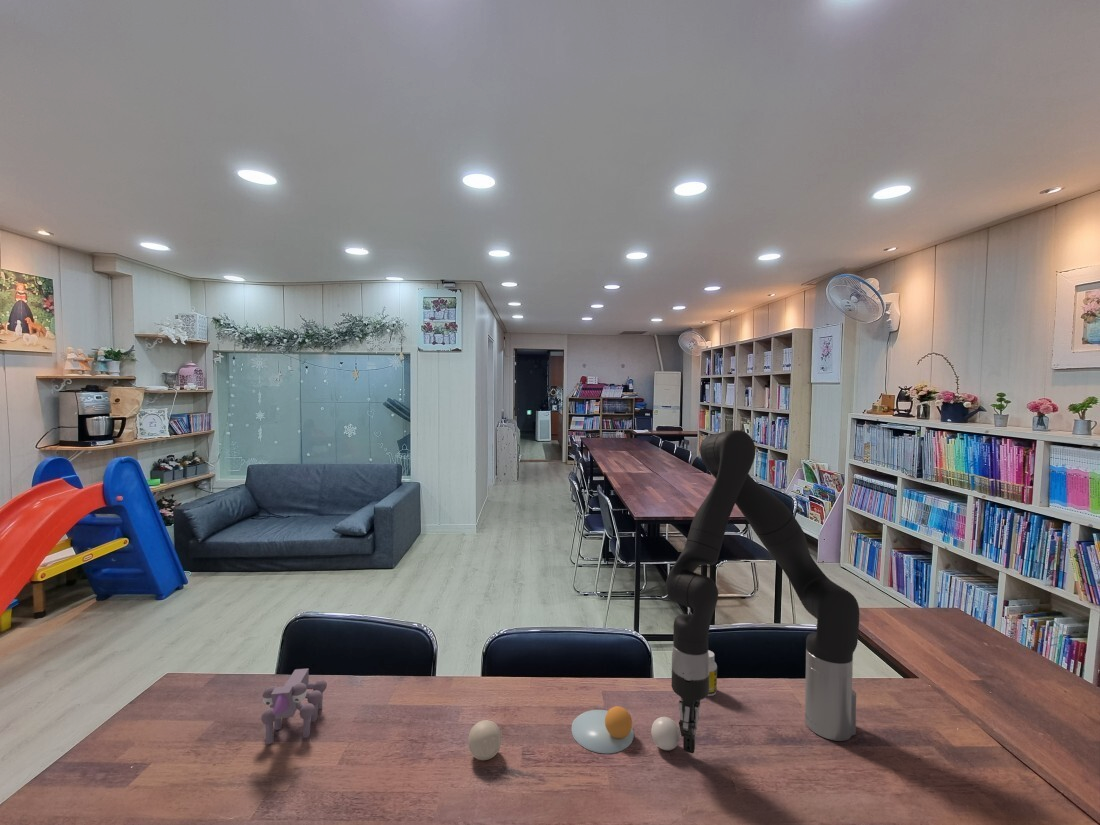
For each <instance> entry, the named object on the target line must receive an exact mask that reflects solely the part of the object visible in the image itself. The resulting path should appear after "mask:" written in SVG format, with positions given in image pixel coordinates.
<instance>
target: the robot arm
mask: <svg viewBox="0 0 1100 825" xmlns="http://www.w3.org/2000/svg"><path fill="white" fill-rule="evenodd" d="M699 446H700V447H699V455H700V458H701V460H702V463H703V464H704V466H705V468H706V469H707V470H708V471H709V473H710V474H711V475H712V476H713V477H714V478H715V481H714V483H713V485H712V487H711V489H710V490H709V493H708V494H707V496H706V497H705V498H704V500H703V501H702V503H701V504H700V506H699V508H698V509H697V511H696V512H695V515H694V517H693V518H692V521H691V524H690V528H689V530H688V533H687V534H688V535H687V538H686V542H685V545H684V548H683V549H682V551H681V552H680V554H679V556H678V558H677V560H676V562H675V563H674V565H672V568H671V569H670V571H669V573H668V575H667V577H666V581H665V592H666V595H667V597H668V598H669V599H670V601H672V602H673V603H677V604H678V605H681V606H684V607H687V608H689V609H692V611H693V614H692V613H691V614H689V613H684V614H683V613H681V614H679V615H677V616H676V617H675V618H674V621H673V632H672V633H673V639H672V640H673V643H672V651H671V688H672V691H673V692H674V693H675V694H676V695H678V696H679V697H680V700H679V701H678V710H679V721H678V728H679V732H680V737H682V738H683V740H682V741H683V744H682V748H683V751H684V752H686V753H689V754H695V749H696V735H697V730H698V723H699V718H700V708H701V704H702V703H701V702H702V701H701V700H704V699H706V698H707V697H709V696H708V694H709V653H708V650H709V631H710V627H711V623H712V618H713V615H714V612H715V609H716V606H717V603H718V599H719V590H718V587H717V584H716V582H715V581H714V580H713V578H711V577H709V576H707V575H703V574H699V573H696V572H695V571H696V570H697V568H699V567H701V566H713V565H716V564H717V562H718V560H719V557H720V552H721V549H722V545H723V541H724V539H725V538H724V537H725V534H726V531H727V530H726V529H727V527H728V523H729V520H730V518H731V515H732V512H733V509H734V507H735V505H736V506H737V508H738V509H739V511H740V512H741V514H742V515H743V517H744V518H745V519H746V521H747V522H748V524H749V526H750V527H751V528H752V531H753V532H754V533H755V535H756V536H757V537H758V539H759V540H760V542H761V544H762V545H763V546H764V548H765V549H766V551H767V552H768V553H769V554H770V555H771V557H772V558H773V560H774V561H775V562H776V563H777V564H778V565H779V566H778V567H780V568H781V570H783V571H782V572H784V573H785V575H786V577H787V579H788V581H789V582H790V585H792V588H793V589H794V592H795V595H797V597H798V599H799V601H800V603H801V604H802V606H803V608H804V609H805V610H806V612H808V613H809V614H810V615H811V616H812V617H814V618H815V619H816V620H817V621H816V622H817V623H816V632H811V633H808V635H807V636H806V639H805V688H804V690H805V698H804V703H805V704H804V722H805V725H806V726H807V728H808V729H809V730H810V731H811V732H813V733H814V734H816V735H818V736H820V737H822V738H824V739H827V740H831V741H836V742H837V741H838V742H843V741H844V742H845V741H848V740H850V739H851V737H852V736H855V735H856V734H857V733H856V731H857V692H856V691H855V690H854V689H853V676H854V675H853V674H854V673H853V664H854V661H853V660H854V652H855V651H856V649H857V645H858V641H859V640H858V638H859V627H860V607H859V603H858V601H857V600H858V599H857V598H856V597H855V595H854V594H853V593H851V592H850V591H849V590H847V589H846V588H844V587H842V586H841V585H839V584H837V583H835V582H834V581H832V580H831V579H830V578H829V577H828V576H827V575H826V574H825V573H824V572H823V571H822V570H821V568H820V567H819V566H818V564H817V563H816V562H815V560H814V558H813V557H812V555H811V553H810V550H809V545H808V542H807V538H806V537H807V536H806V535H805V532H804V530H803V528H802V526H801V525H800V523H799V521H797V519H796V517H795V516H794V514H793V512H792V511H791V510H790V508H789V507H788V506H787V505H786V504H785V503H784V502H783V501H781V500H780V498H778V497H777V496H776V495H775V494H773V493H771V492H770V491H769V490H767V489H766V488H765V487H763V486H762V485H760V484H759V482H757V481H755V479H754V478H753V477H752V476H751V475H750V474H749V473H750V471H751V468H752V466H753V465H754V462H755V458H756V445H755V442H754V440H753V438H752V436H751V435H749V434H748V433H747V432H745V431H744V430H739V429H738V430H737V429H734V430H733V429H732V430H728V431H727V430H726V431H723V432H718V433H717V432H716V433H713V434H709V435H708V436H706V437H704V439H702V440H701V443H700V445H699Z"/></svg>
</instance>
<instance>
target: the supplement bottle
mask: <svg viewBox="0 0 1100 825" xmlns="http://www.w3.org/2000/svg"><path fill="white" fill-rule="evenodd" d="M708 653H709V694H708V696H707V697H712V696H714V695H715V696H716V694H717V690H718V689H717V688H718V686H717V684H718V679H717V678H718V665H717V663H716V661H715V653H714V652H713V651H711V650H709V649H708Z"/></svg>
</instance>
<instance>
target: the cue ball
mask: <svg viewBox="0 0 1100 825" xmlns="http://www.w3.org/2000/svg"><path fill="white" fill-rule="evenodd" d="M650 731H651V733H650V734H651V738H652V740H653V742H654V744H655V745H656V746H657V747H658V748H659V749H661V750H664V751H672V750H674V749H675V748H676V747H677V746H678V745H679V742H680V739H681V732H680V727H679V725H677V723H676V722H675V721H674V720H673V719H672V718H670V717H668V716H660V717H658V718H655V720H654V721H653V723H652V725H651V730H650Z"/></svg>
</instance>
